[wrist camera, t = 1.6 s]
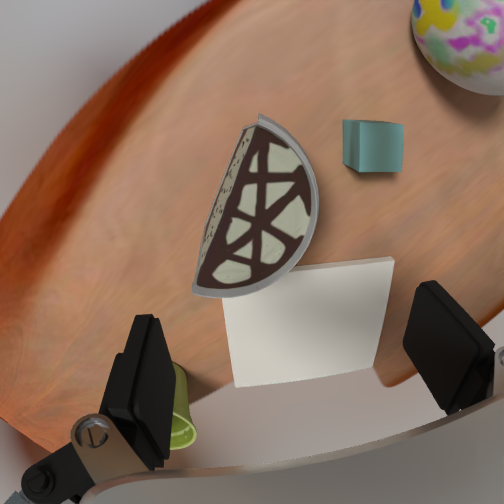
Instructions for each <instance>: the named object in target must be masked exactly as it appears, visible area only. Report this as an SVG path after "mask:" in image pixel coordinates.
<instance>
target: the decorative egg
mask: <svg viewBox="0 0 504 504" xmlns="http://www.w3.org/2000/svg"><path fill="white" fill-rule="evenodd" d="M411 23H412V30H413V34H414V38H415V40H416V43H417V45H418V47H419V49H420V51H421V52H422V54H423V55H424V57H425V58H426V60H427V61H428V62H429V63H430V65H431V66H432V67H433V68H434V69H435V70H436V71H437V72H439V73H440V74H441V75H442V76H443V77H445V78H446V79H448V80H449V81H451V82H452V83H454V84H456V85H458V86H460V87H462V88H464V89H466V90H469V91H472V92H476V93H480V94H485V95H492V96H504V0H414V2H413V7H412V12H411Z"/></svg>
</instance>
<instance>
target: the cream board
mask: <svg viewBox="0 0 504 504" xmlns="http://www.w3.org/2000/svg"><path fill="white" fill-rule="evenodd" d="M394 262H395V260H394V259H393V258H392V257H391V256H388V257H379V258H369V259H360V260H351V261H341V262H332V263H322V264H312V265H303V266H294V267H293V268H292V269H291V270H290V271H289V272H288V273H287V274H286V275H284V276H283V277H282V278H281V279H279V280H278V281H276V282H275V283H273V284H272V285H270V286H268V287H266V288H264V289H262V290H260V291H257V292H254V293H251V294H248V295H245V296H239V297H233V298H222V301H223V309H224V316H225V323H226V330H227V337H228V344H229V350H230V357H231V363H232V370H233V376H234V382H235V387H247V386H257V385H267V384H276V383H284V382H291V381H299V380H306V379H313V378H319V377H325V376H331V375H337V374H342V373H347V372H352V371H358V370H362V369H367V368H372V367H373V363H374V359H375V355H376V351H377V347H378V343H379V339H380V335H381V330H382V326H383V321H384V317H385V312H386V307H387V302H388V297H389V291H390V286H391V280H392V274H393V268H394Z"/></svg>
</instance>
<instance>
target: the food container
mask: <svg viewBox="0 0 504 504" xmlns="http://www.w3.org/2000/svg"><path fill="white" fill-rule="evenodd" d="M318 212H319V195H318V186H317V182H316V179H315V175H314V171H313V168H312V165H311V163H310V161H309V159H308V157H307V155H306V153H305V151H304V150H303V148H302V147H301V146H300V144H299V143H298V141H297V140H296V139H295V138H294V137H293V136H292V135H291V134H290V133H289V132H288V131H287V130H286V129H285V128H283V127H282V126H281V125H279V124H278V123H276V122H275V121H274V120H272V119H270V118H268V117H266V116H264V115H262V114H260V113H259V114H258V122H256V123H253V124H251V125H248V126H245V127H243V128H242V131H241V133H240V136H239V138H238V141H237V143H236V145H235V148H234V150H233V153H232V155H231V158H230V160H229V163H228V165H227V168H226V171H225V173H224V176H223V178H222V181H221V183H220V186H219V189H218V191H217V194H216V197H215V199H214V202H213V204H212V207H211V210H210V213H209V215H208V218H207V221H206V223H205V227H204V232H203V237H202V242H201V247H200V253H199V258H198V263H197V269H196V274H195V280H194V282H193V284H192V294H193V295H197V296H202V297H209V298H233V297H239V296H245V295H248V294H251V293H254V292H257V291H260V290H262V289H264V288H266V287H268V286H270V285H272V284H273V283H275V282H276V281H278V280H279V279H281V278H282V277H283V276H284V275H286V274H287V273H288V272H289V271H290V270H291V269H292V268H293V267H294V266H295V265H296V263H297V262H298V261H299V260H300V259H301V257H302V255H303V254H304V252H305V250H306V249H307V247H308V245H309V244H310V241H311V239H312V236H313V234H314V232H315V228H316V224H317V220H318Z"/></svg>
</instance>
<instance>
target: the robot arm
mask: <svg viewBox="0 0 504 504" xmlns="http://www.w3.org/2000/svg"><path fill="white" fill-rule="evenodd" d="M494 346H495V344H494V342H493V341H492V340H491V339H490V338H489V337H488V336H487V334H486V333H485V332H484V331H483V330H482V329H481V328H480V326H479V325H478V324H477V323H476V322H475V321H474V320H473V319H472V318H471V317H470V316H469V314H468V313H467V312H466V311H465V310H464V309H463V308H462V307H461V306H460V305H459V304H458V303H457V302H456V301H455V300H454V299H453V298H452V297H451V296H450V295H449V293H448V292H447V291H446V290H445V289H444V288H443V287H442V286H441V285H440V284H439V283H438V282H437V281H435V280H432V281H426V282H422V283H420V285H419V287H417V288H416V291H415V296H414V300H413V304H412V308H411V312H410V316H409V320H408V324H407V327H406V331H405V334H404V338H403V347H404V350H405V351H406V353H407V354H408V356H409V358H410V359H411V361H412V362H413V364H414V366H415V367H416V369H417V370H418V372H419V374H420V375H421V377H422V378H423V380H424V382H425V383H426V385H427V387H428V388H429V390H430V392H431V393H432V395H433V397H434V398H435V400H436V402H437V404H438V405H439V407H440V408H441V409H442V410H445V412H446V414H447V416H446V417H444V418H441V419H439V420H437V421H434V422H431V423H428V424H426V425H423V426H421V427H417V428H415V429H412V430H409V431H406V432H403V433H400V434H397V435H393V436H390V437H387V438H384V439H381V440H377V441H373V442H370V443H366V444H363V445H359V446H354V447H350V448H346V449H342V450H338V451H333V452H328V453H324V454H319V455H313V456H309V457H303V458H297V459H291V460H284V461H277V462H270V463H261V464H252V465H241V466H230V467H217V468H196V469H174V470H157V471H155V467H161V468H163V467H164V459H169V455H170V442H171V430H172V418H173V407H174V397H175V387H176V373H175V369H174V366H173V363H172V360H171V357H170V354H169V350H168V347H167V344H166V341H165V337H164V334H163V330H162V327H161V323H160V320H159V318H154V316H153V315H152V314H144V315H136V316H135V318H134V321H133V324H132V327H131V330H130V333H129V337H128V340H127V343H126V346H125V349H124V353H118V354H117V355H116V357H115V360H114V363H113V366H112V369H111V372H110V376H109V379H108V382H107V385H106V389H105V392H104V396H103V399H102V403H101V406H100V410H99V413H98V414H97V413H94V414H88V415H85V416H83V417H81V418H80V419H78V420H77V421H76V422H75V424H74V425H73V427H72V429H71V433H70V438H71V442H70V443H68V444H67V445H65V446H64V447H62V448H60V449H59V450H57V451H55V452H54V453H52V454H51V455H49V456H47V457H46V458H44V459H42V460H41V461H39V462H37V463H36V464H34V465H32V466H31V467H30V468H28V469H27V470H26V471H25V473H24V475H23V477H22V481H21V487H22V490H21V491H20V492H19V493H18V492H17V491H15V492H14V493H13V494H12V495H11V496H10V497H9V499H8V500H7V501H6V502H5V503H4V504H504V347H501V348H499V349H497V351H496V352H494V350H493V348H494ZM460 409H461V411H459V410H460Z"/></svg>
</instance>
